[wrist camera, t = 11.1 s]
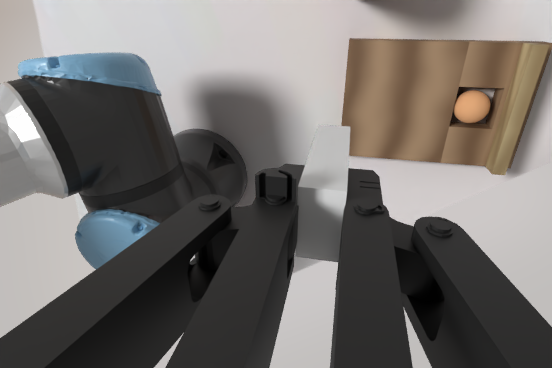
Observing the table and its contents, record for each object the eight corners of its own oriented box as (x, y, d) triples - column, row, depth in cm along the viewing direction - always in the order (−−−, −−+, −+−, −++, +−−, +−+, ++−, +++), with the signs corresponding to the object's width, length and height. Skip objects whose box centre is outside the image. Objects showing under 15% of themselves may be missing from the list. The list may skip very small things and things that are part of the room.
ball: (445, 117, 45) (456, 126, 42) (452, 86, 43) (465, 93, 40) (476, 118, 45) (490, 127, 41) (485, 87, 43) (501, 94, 39)
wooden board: (339, 148, 50) (338, 161, 46) (349, 38, 43) (349, 41, 39) (503, 160, 46) (518, 176, 42) (542, 41, 39) (565, 45, 35)
